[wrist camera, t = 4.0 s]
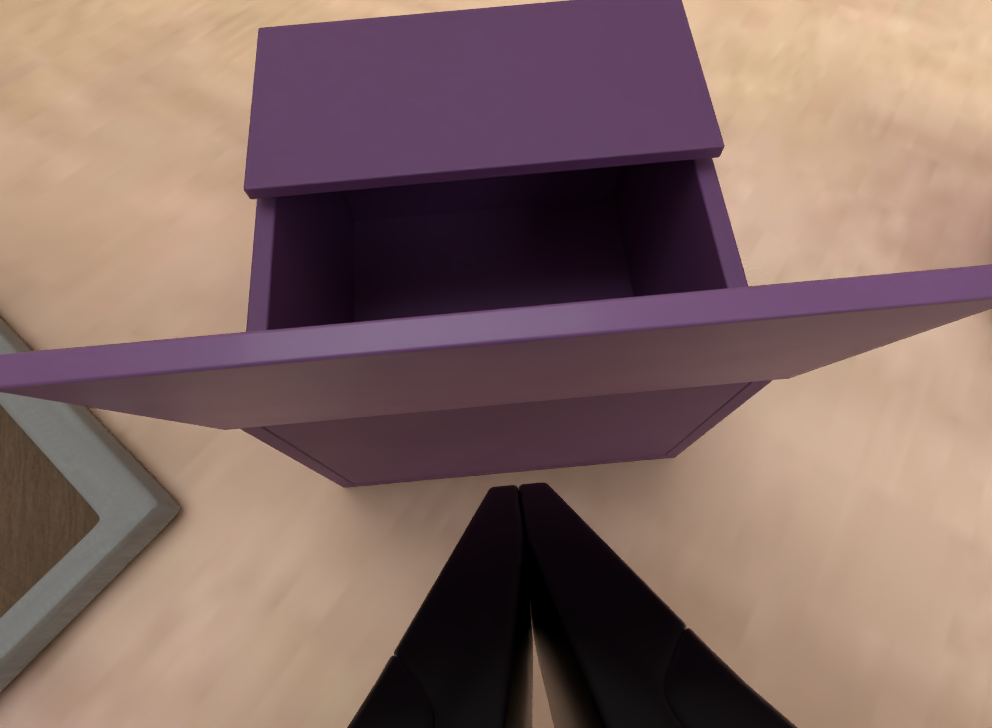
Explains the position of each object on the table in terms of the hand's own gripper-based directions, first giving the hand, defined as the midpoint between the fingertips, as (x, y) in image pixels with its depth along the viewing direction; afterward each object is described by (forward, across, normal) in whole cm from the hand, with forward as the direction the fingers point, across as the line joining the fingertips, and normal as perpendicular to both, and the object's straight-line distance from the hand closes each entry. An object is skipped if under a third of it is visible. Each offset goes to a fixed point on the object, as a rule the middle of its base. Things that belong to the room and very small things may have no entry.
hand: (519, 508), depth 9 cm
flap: (+1, 0, -2) cm, 2 cm away
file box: (+13, 0, +2) cm, 13 cm away
